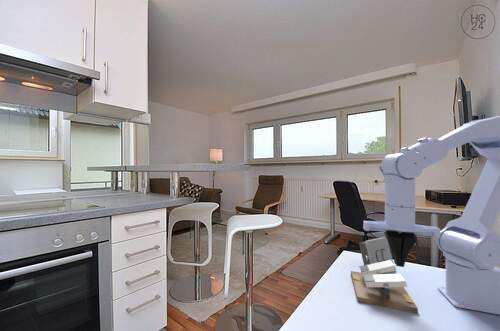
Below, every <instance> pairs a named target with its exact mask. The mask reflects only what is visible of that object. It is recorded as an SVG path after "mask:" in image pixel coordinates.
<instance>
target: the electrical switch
mask: <svg viewBox="0 0 500 331" xmlns="http://www.w3.org/2000/svg"><path fill="white" fill-rule="evenodd" d="M358 245H359V249H360V254H361V258H362V262H363V266H364V265H369V264H374V263H378V262H383V261H387V260H391V261H392V262H393V264H394V265H395V263H394V258H393V254H392V251H391V247H390V244H389V242H388V240H387V237H378V238H372V239H368V240H365V241H363V242H359V243H358Z"/></svg>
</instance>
